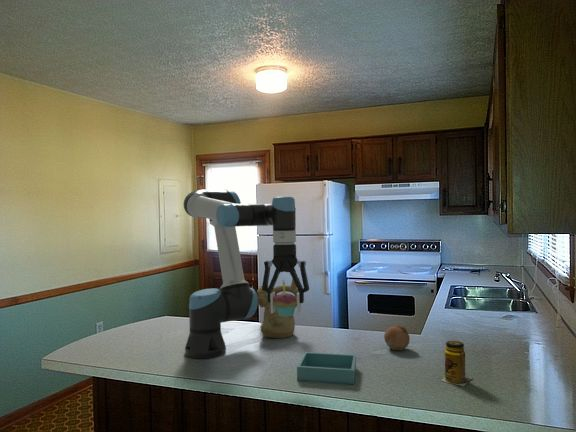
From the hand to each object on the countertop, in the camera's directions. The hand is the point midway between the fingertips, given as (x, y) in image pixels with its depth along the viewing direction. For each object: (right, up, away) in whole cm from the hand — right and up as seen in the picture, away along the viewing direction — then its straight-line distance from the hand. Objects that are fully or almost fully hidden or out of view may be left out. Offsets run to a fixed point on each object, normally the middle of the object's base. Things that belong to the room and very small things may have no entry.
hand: (285, 312), depth 149 cm
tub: (+14, -20, -1) cm, 24 cm away
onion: (+42, -20, +25) cm, 53 cm away
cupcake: (0, -1, 0) cm, 1 cm away
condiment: (+54, -20, -6) cm, 58 cm away
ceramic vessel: (-3, -19, +45) cm, 50 cm away
